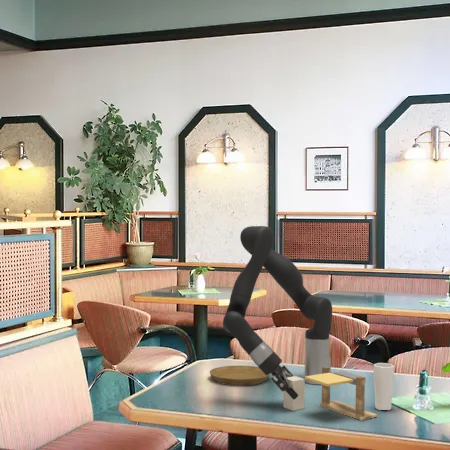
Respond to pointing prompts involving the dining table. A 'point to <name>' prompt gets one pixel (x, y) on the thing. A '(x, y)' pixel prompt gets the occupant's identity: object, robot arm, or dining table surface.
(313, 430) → the dining table surface
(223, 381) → the plant saucer
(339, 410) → the frame
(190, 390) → the dining table surface
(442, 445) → the dining table surface
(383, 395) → the drinking glass
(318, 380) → the trapdoor
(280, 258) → the robot arm
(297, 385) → the white square pillar
